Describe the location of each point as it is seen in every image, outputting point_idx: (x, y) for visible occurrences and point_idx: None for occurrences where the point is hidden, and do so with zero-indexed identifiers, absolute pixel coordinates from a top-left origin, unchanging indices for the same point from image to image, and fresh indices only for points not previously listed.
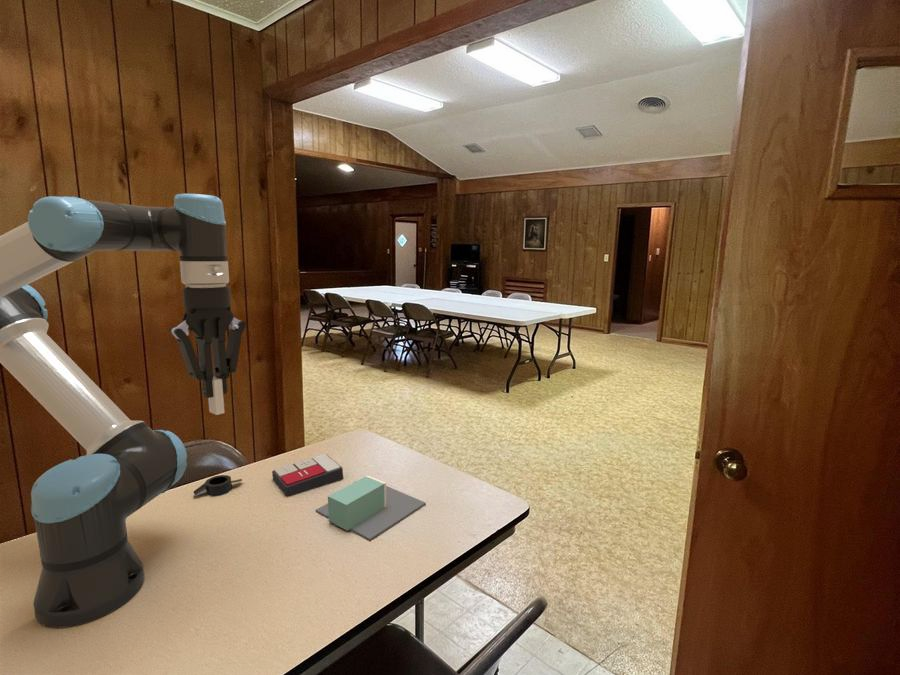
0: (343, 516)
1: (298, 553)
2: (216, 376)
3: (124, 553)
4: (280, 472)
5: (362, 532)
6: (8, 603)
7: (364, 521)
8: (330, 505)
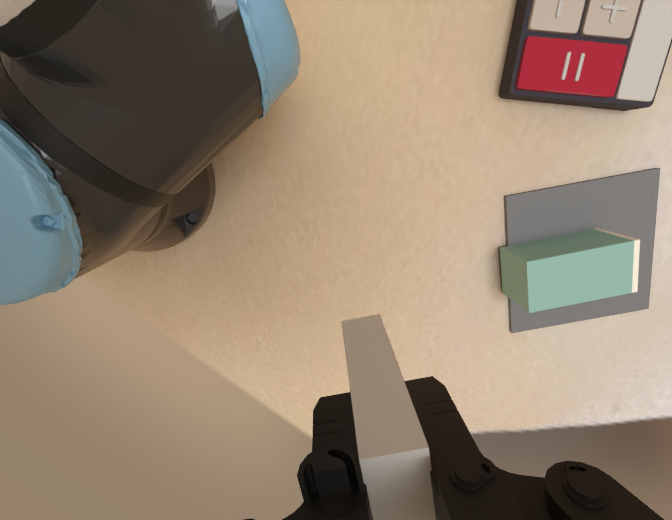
0: (514, 294)
1: (417, 288)
2: (433, 487)
3: (167, 222)
4: (540, 9)
5: (515, 312)
6: None
7: None
8: (517, 263)
